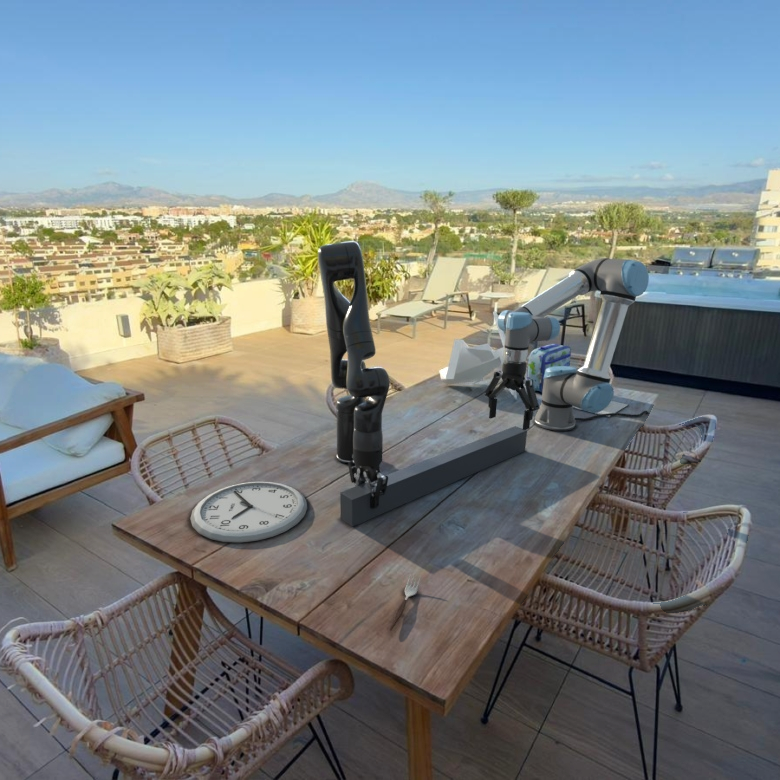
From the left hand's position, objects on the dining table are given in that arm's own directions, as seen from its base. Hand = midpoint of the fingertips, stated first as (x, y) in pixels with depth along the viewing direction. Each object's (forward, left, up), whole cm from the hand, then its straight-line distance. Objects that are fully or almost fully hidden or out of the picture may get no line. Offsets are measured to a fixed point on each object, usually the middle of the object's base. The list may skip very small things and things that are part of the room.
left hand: (367, 503), depth 138 cm
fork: (+36, +2, -3) cm, 37 cm away
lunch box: (-99, +103, -3) cm, 143 cm away
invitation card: (-70, +113, -3) cm, 133 cm away
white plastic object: (-98, +68, -3) cm, 119 cm away
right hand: (-30, +52, +8) cm, 61 cm away
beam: (-15, +26, -3) cm, 30 cm away
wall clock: (-7, -31, -3) cm, 31 cm away
